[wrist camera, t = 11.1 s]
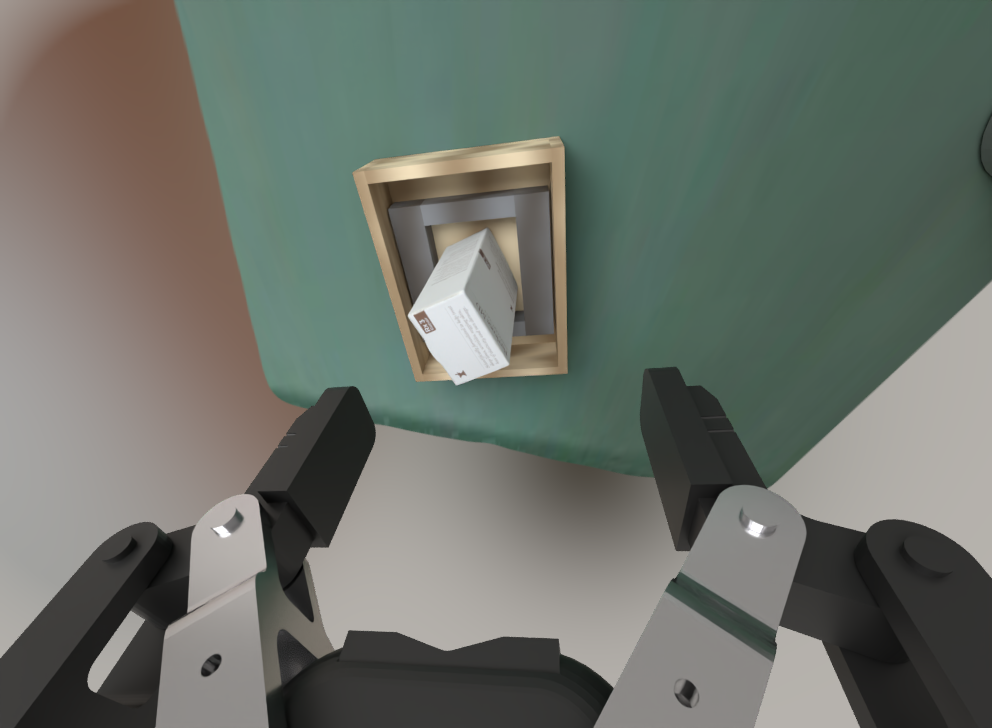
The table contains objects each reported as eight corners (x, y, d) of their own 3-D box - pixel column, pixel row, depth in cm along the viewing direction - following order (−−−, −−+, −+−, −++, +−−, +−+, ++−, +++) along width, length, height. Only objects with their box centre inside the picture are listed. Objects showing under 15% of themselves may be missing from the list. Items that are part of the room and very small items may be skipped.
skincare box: (520, 285, 35) (517, 368, 25) (475, 305, 36) (457, 390, 26) (487, 221, 32) (469, 288, 22) (440, 246, 33) (404, 318, 23)
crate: (559, 136, 29) (564, 146, 25) (563, 342, 39) (567, 373, 35) (375, 159, 30) (352, 172, 26) (427, 351, 41) (415, 381, 37)
